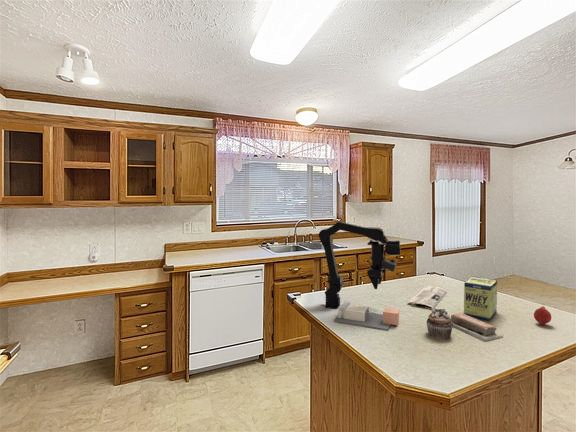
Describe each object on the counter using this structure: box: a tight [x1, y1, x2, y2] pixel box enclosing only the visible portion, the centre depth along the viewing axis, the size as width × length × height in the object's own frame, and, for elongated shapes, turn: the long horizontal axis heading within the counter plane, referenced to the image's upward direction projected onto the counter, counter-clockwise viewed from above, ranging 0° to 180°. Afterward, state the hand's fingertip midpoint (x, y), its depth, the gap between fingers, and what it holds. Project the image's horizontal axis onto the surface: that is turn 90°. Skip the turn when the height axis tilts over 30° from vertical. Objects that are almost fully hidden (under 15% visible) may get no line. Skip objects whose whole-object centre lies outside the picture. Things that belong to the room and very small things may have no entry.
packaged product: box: [450, 312, 504, 342], centre depth 129 cm, size 18×5×10 cm
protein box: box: [463, 276, 498, 322], centre depth 146 cm, size 10×16×16 cm
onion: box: [533, 305, 552, 326], centre depth 134 cm, size 6×6×8 cm
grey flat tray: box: [334, 301, 392, 332], centre depth 142 cm, size 23×16×6 cm
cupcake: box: [426, 308, 454, 340], centre depth 125 cm, size 10×10×10 cm
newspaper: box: [407, 283, 448, 311], centre depth 171 cm, size 35×12×4 cm, turn 143°
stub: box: [382, 307, 400, 326], centre depth 137 cm, size 6×5×5 cm
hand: (377, 286), depth 152 cm, fingers open, 9 cm apart
